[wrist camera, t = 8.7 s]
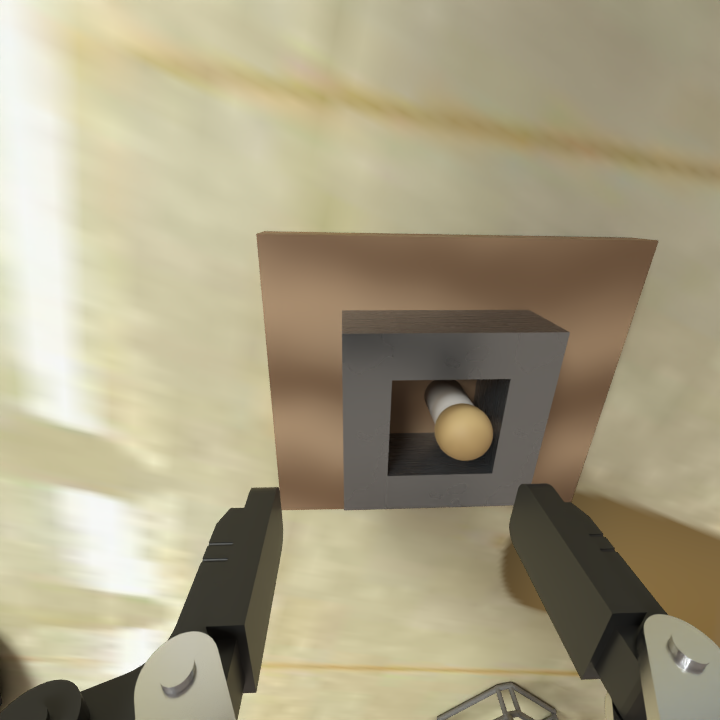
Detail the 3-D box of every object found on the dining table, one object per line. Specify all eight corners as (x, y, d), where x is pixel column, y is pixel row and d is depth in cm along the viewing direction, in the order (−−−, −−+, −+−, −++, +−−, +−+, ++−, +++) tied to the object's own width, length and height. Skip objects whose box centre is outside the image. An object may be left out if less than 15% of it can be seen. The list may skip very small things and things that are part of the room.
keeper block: (264, 231, 15) (223, 244, 10) (630, 237, 16) (771, 252, 11) (285, 489, 20) (266, 584, 15) (555, 484, 21) (624, 573, 16)
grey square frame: (342, 310, 15) (341, 333, 12) (528, 309, 15) (570, 332, 12) (343, 463, 18) (343, 510, 15) (498, 460, 18) (525, 504, 16)
